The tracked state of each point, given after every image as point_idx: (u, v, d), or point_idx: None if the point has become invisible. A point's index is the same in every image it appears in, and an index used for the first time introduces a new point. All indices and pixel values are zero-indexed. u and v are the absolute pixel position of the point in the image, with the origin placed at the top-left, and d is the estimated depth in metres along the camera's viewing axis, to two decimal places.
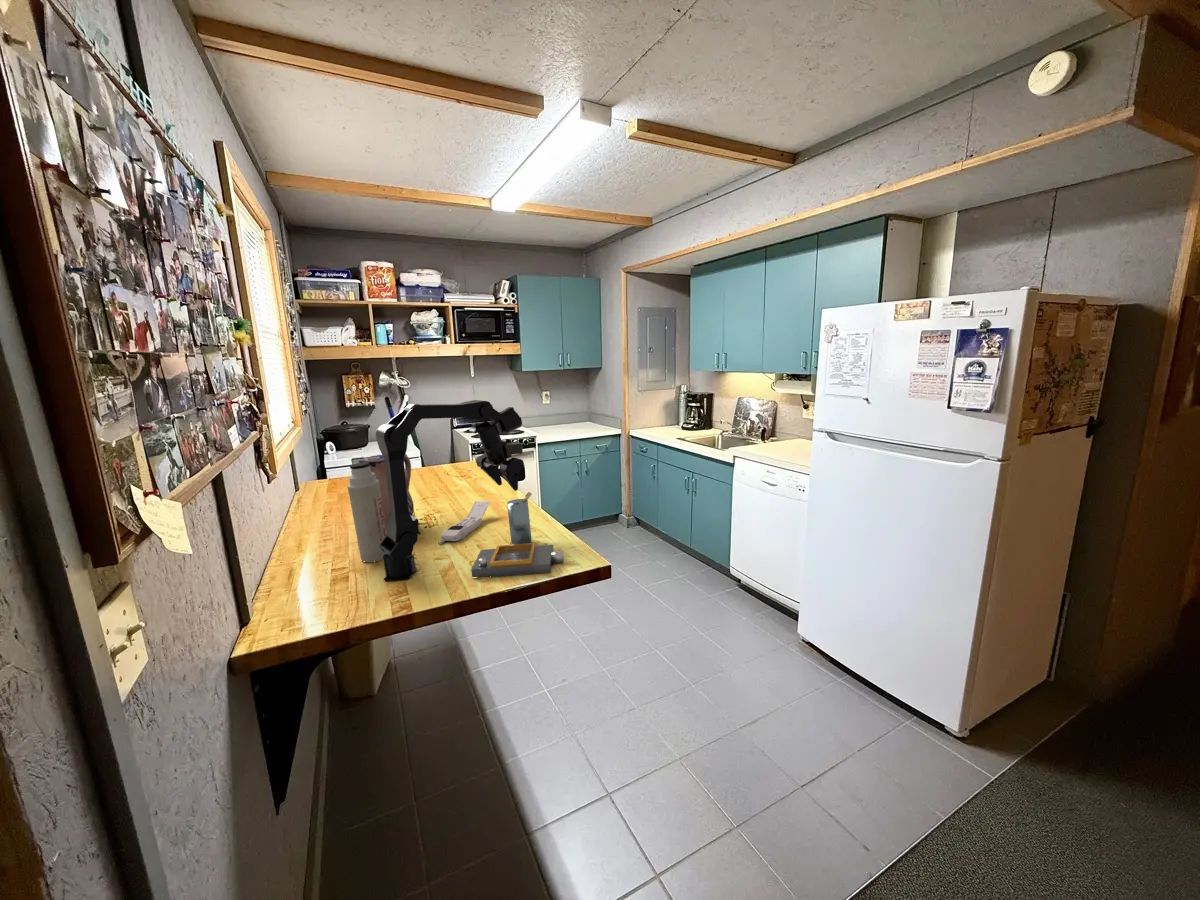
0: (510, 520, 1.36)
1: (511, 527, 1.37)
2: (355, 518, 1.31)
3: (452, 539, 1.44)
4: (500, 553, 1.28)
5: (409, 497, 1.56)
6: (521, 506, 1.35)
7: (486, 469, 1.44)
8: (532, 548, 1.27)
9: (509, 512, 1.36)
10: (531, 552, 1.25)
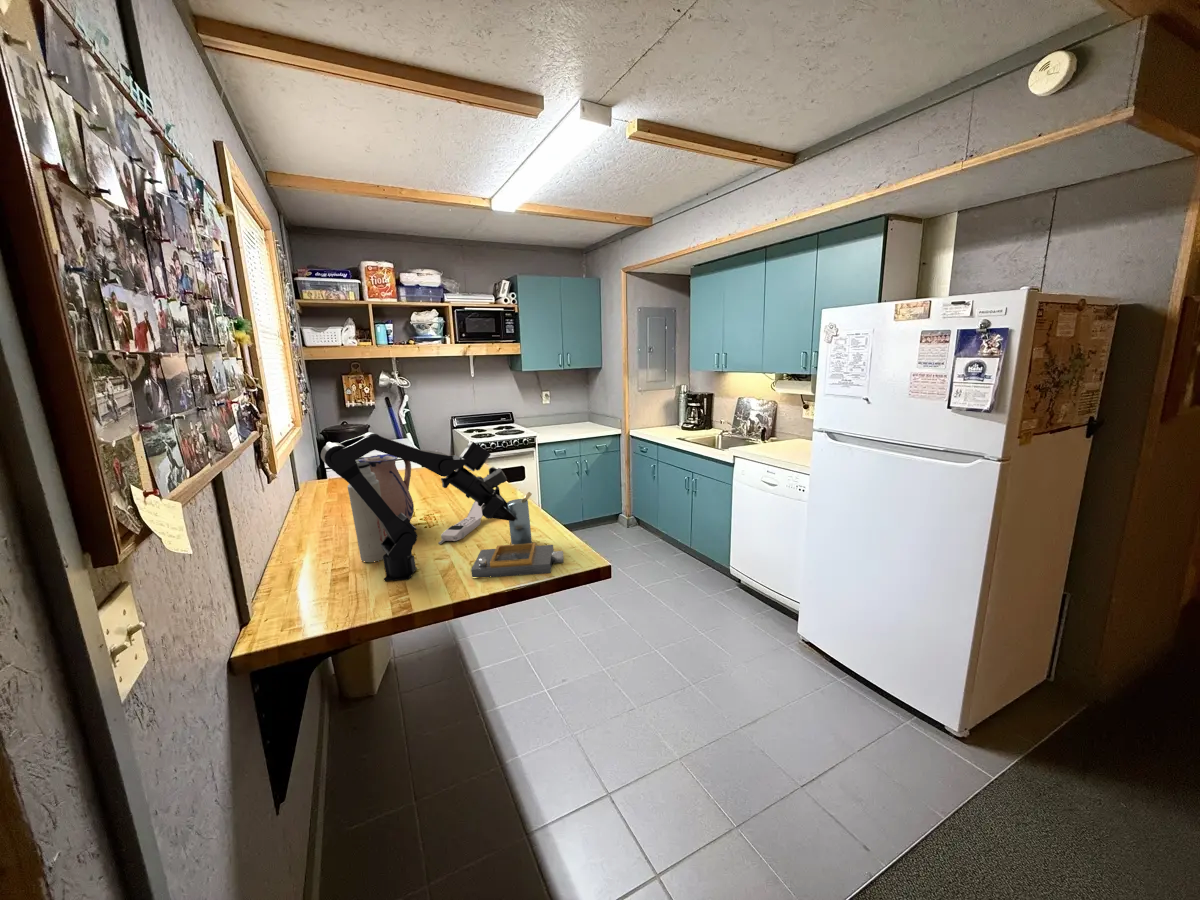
0: None
1: (511, 527, 1.37)
2: (355, 518, 1.31)
3: (452, 539, 1.44)
4: (500, 553, 1.28)
5: (409, 497, 1.56)
6: (521, 506, 1.35)
7: None
8: (532, 548, 1.27)
9: None
10: (531, 552, 1.25)
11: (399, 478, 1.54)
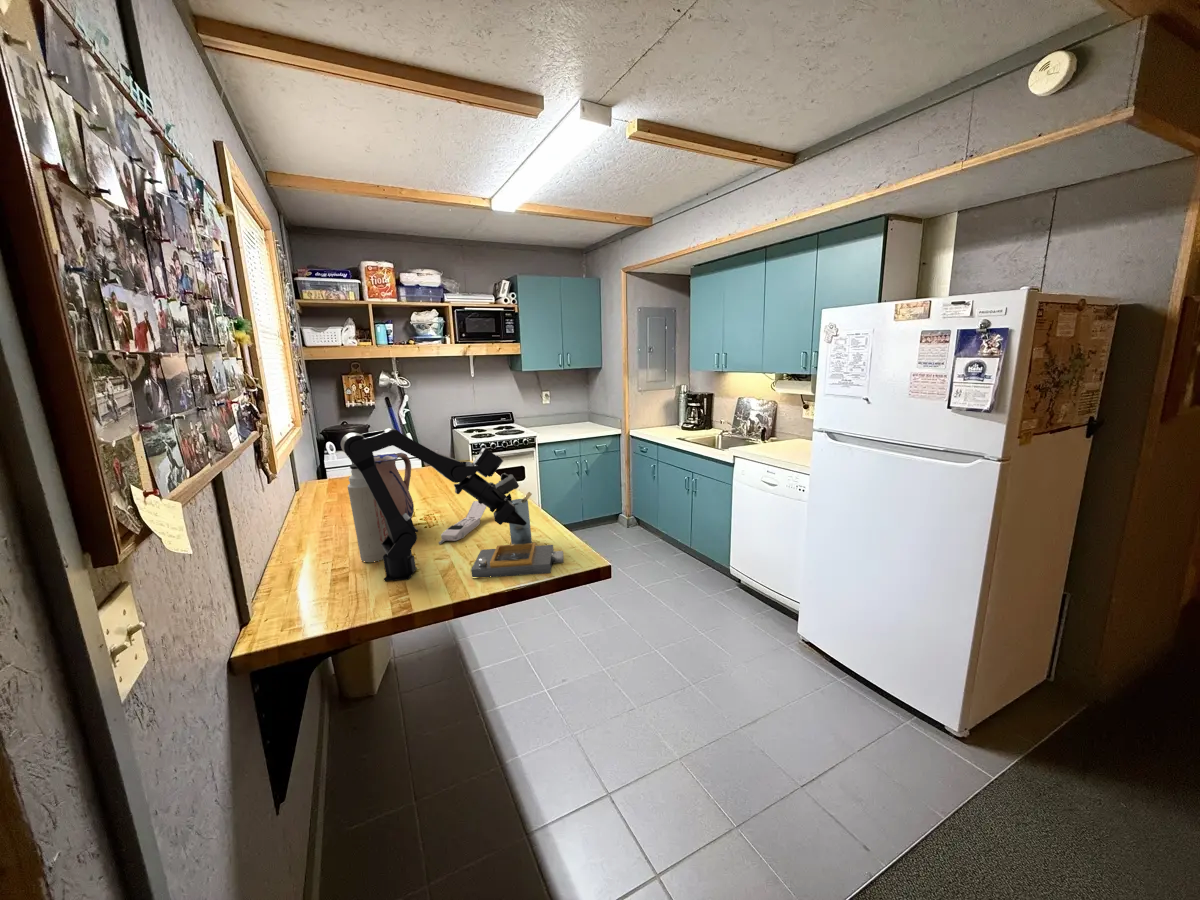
0: None
1: (511, 527, 1.37)
2: (355, 518, 1.31)
3: (453, 539, 1.44)
4: (500, 553, 1.28)
5: (409, 497, 1.56)
6: (521, 506, 1.35)
7: None
8: (532, 548, 1.27)
9: None
10: (531, 552, 1.25)
11: (399, 478, 1.54)
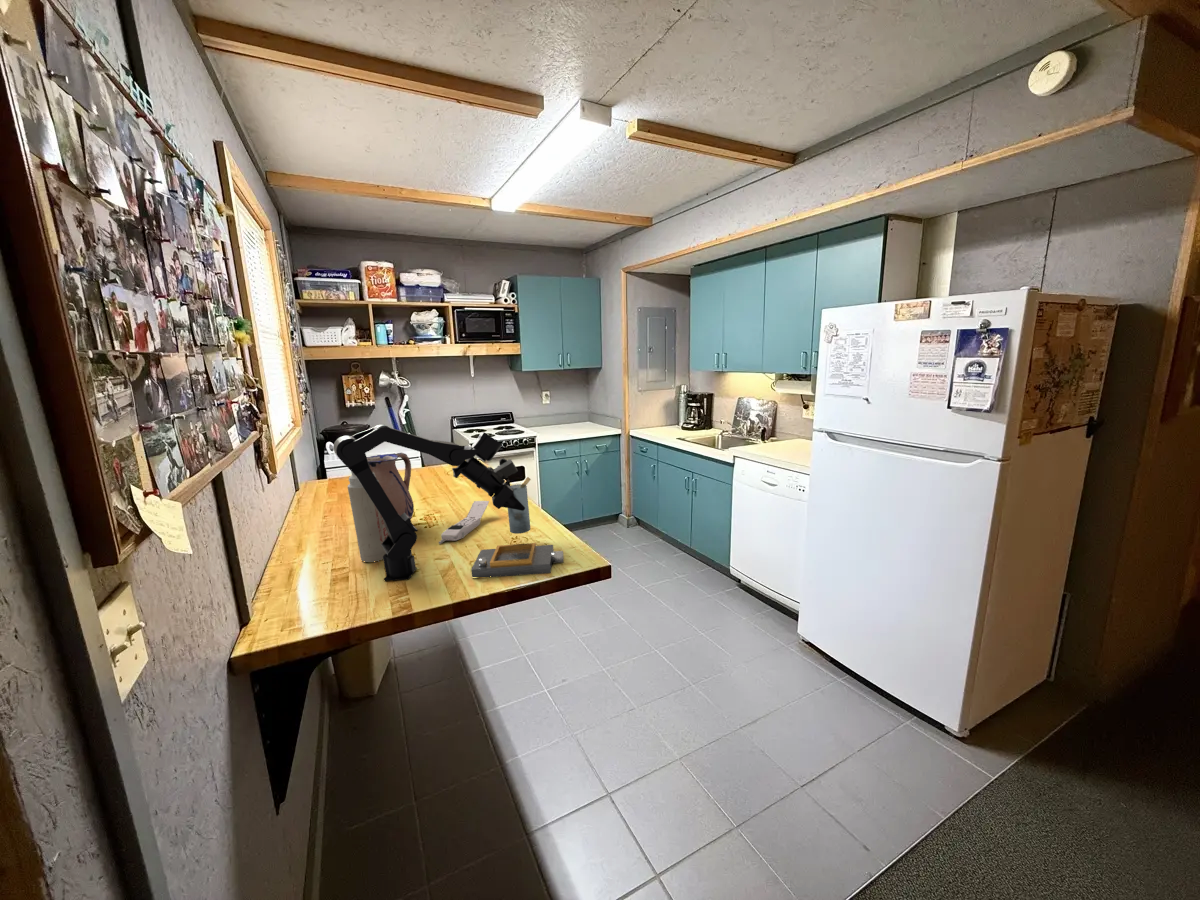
0: None
1: (510, 512, 1.36)
2: (355, 518, 1.31)
3: (453, 539, 1.44)
4: (500, 553, 1.28)
5: (409, 497, 1.56)
6: (520, 491, 1.34)
7: None
8: (532, 548, 1.27)
9: None
10: (531, 552, 1.25)
11: (399, 478, 1.54)
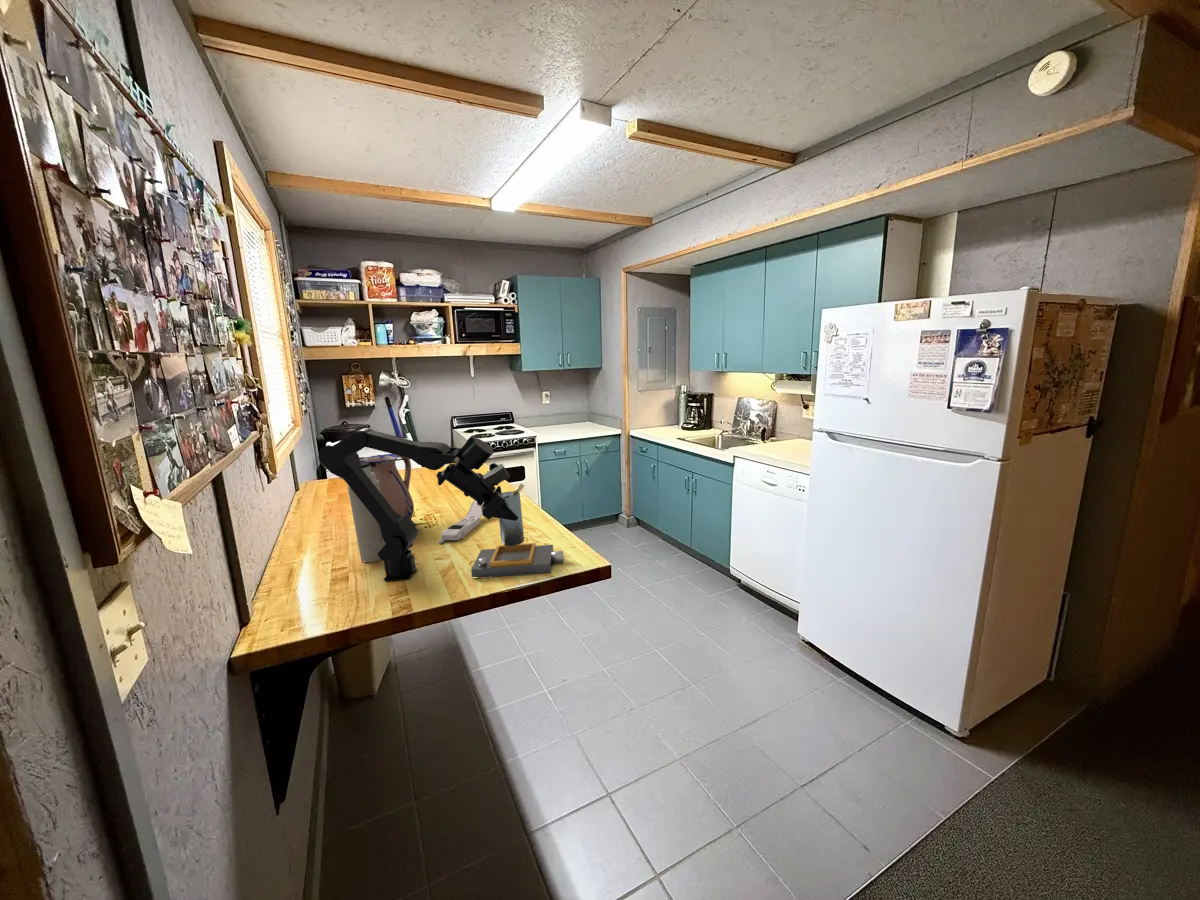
0: None
1: (502, 523, 1.23)
2: (355, 518, 1.31)
3: (453, 539, 1.44)
4: (500, 553, 1.28)
5: (409, 497, 1.56)
6: (512, 499, 1.21)
7: None
8: (532, 548, 1.27)
9: None
10: (531, 552, 1.25)
11: (399, 478, 1.54)
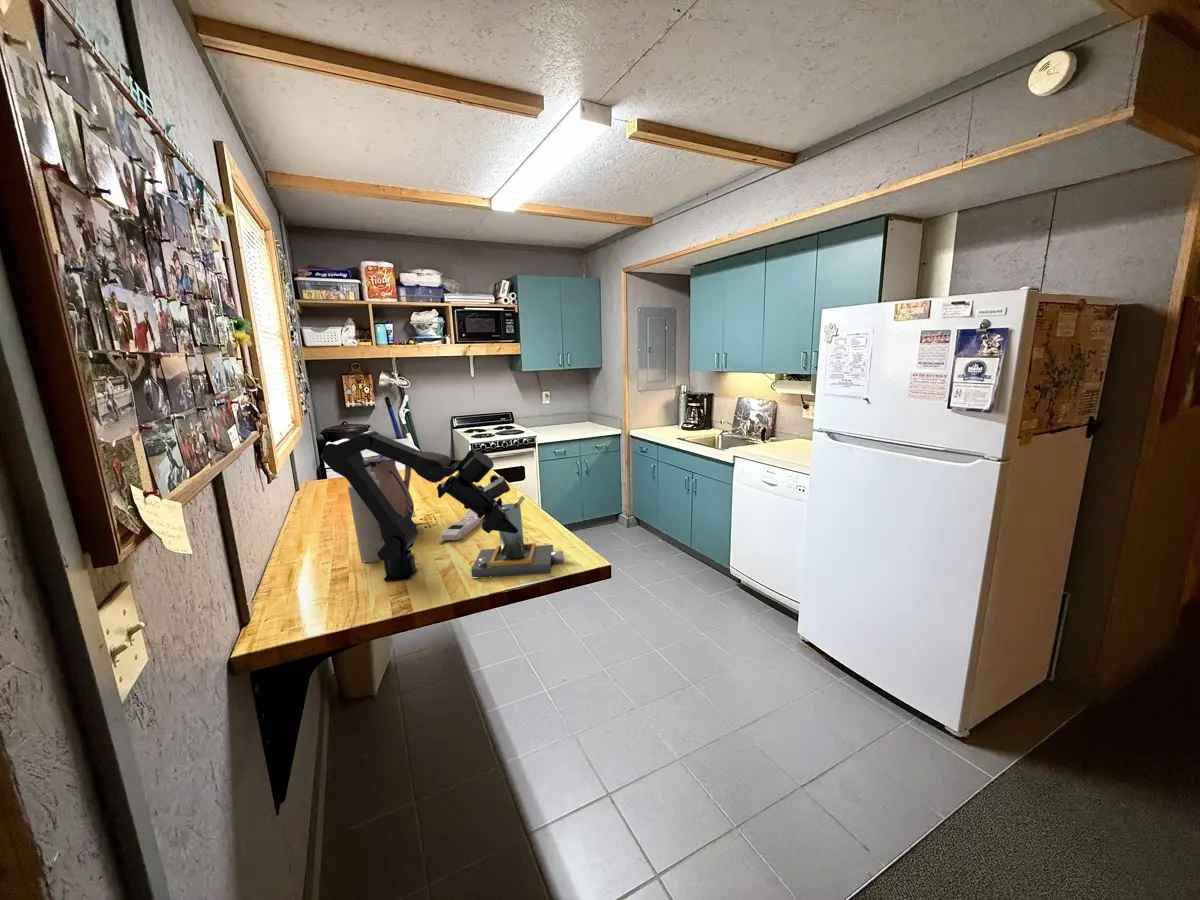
0: None
1: (502, 535, 1.22)
2: (355, 518, 1.31)
3: (453, 539, 1.45)
4: (500, 553, 1.28)
5: (409, 497, 1.56)
6: (513, 511, 1.21)
7: None
8: (532, 548, 1.27)
9: None
10: (531, 552, 1.25)
11: (399, 478, 1.54)
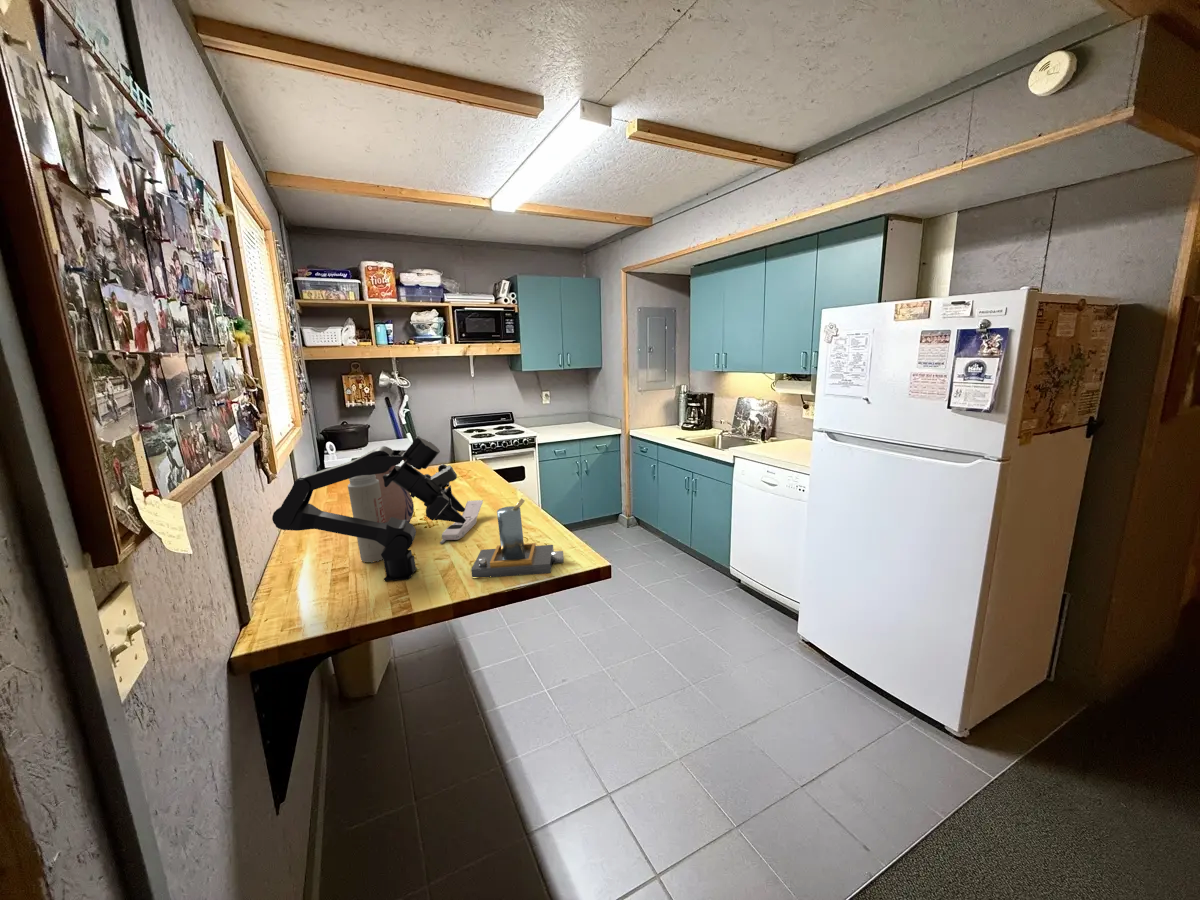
0: (500, 530, 1.22)
1: (502, 538, 1.22)
2: None
3: (454, 538, 1.45)
4: (500, 553, 1.28)
5: (409, 497, 1.56)
6: (513, 514, 1.21)
7: None
8: (532, 548, 1.27)
9: (499, 521, 1.22)
10: (531, 552, 1.25)
11: None
